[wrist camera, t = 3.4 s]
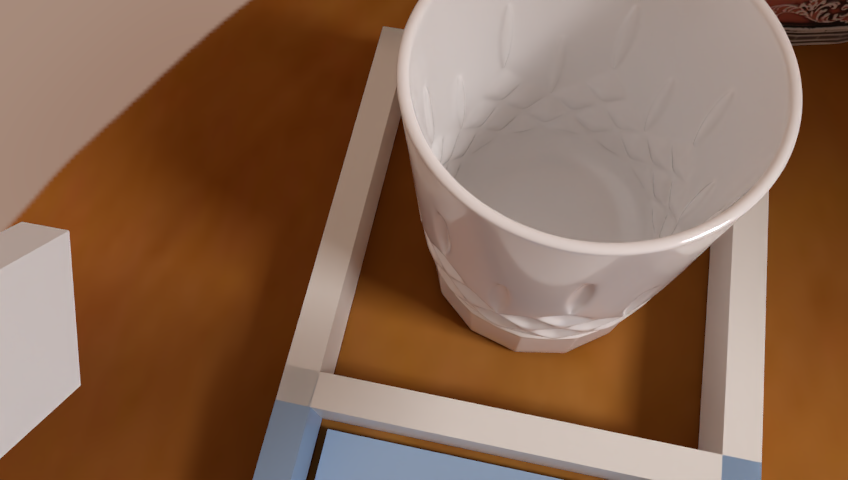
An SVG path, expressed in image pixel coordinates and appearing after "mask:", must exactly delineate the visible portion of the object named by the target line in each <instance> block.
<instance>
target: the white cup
mask: <svg viewBox="0 0 848 480" xmlns="http://www.w3.org/2000/svg"><path fill="white" fill-rule="evenodd" d="M396 84H397V95H398V101H399V106H400V111H401V116H402V121H403V126H404V132H405V137H406V142H407V147H408V153H409V158H410V164H411V169H412V175H413V180H414V184H415V190H416V195H417V201H418V206H419V211H420V217H421V222H422V225H423V229H424V232H425V236H426V241H427V245H428V248H429V251H430V253H431V255H432V257H433V259H434V261H435V265H436V270H437V274H438V279H439V284H440V288H441V292H442V294H443V295H444V297H445V298H446V299H447V300H448V302H449V303H450V304H451V305H452V307H453V308H454V309H455V310H456V312H457V313H458V314H459V315H460V317H461V318H462V319H463V320H464V322H465V323H466V324H467V325H468V327H469V328H470V329H471V330H472V331H474V332H476V333H478V334H480V335H482V336H484V337H486V338H488V339H490V340H493V341H495V342H497V343H499V344H501V345H503V346H505V347H507V348H509V349H511V350H513V351H515V352H546V353H566V352H568V351H570V350H572V349H575V348H577V347H579V346H581V345H583V344H586V343H588V342H590V341H592V340H594V339H597V338H599V337H601V336H603V335H605V334H608V333H609V332H610V331H611V330H612V329H613V328H614V327H615V326H616V325H617V324H618V323H619V322H620V321H622V320H624V319H625V318H627V317H628V316H630V315H631V314H632V313H634V312H635V311H637V310H638V309H639V308H641V307H642V306H643V305H644V304H645V303H647V302H648V301H649V300H650V299H651V298H652V297H653V296H655V295H656V294H657V293H658V292H660V291H661V290H662V289H663V288H665V287H666V286H667V285H668V284H669V283H671V282H672V281H673V280H674V279H675V278H676V277H677V276H678V275H679V274H681V273H682V272H683V271H684V270H685V269H686V268H687V267H688V266H689V265H690V264H691V263H692V262H693V261H694V260H696V259H697V258H698V257H699V256H700V255H701V254H702V253H703V252H704V251H705V250H706V249H707V248H708V247H710V246H711V245H712V244H713V243H714V242H715V241H716V240H717V239H718V238H719V237H720V236H721V235H722V234H724V233H725V232H726V231H727V230H728V229H729V228H730V227H731V226H732V225H733V224H734V223H736V222H737V221H738V220H739V219H740V218H741V217H742V216H743V215H744V214H745V213H747V212H748V211H749V210H750V209H751V208H752V207H753V206H754V205H755V204H756V203H758V202H759V201H760V200H761V198H762V197H763V196H764V195H765V194H766V193H767V192H768V191H769V189H770V188H771V187H772V186H773V184H774V183H775V182H776V180H777V179H778V177H779V176H780V174H781V173H782V171H783V170H784V168H785V166H786V164H787V162H788V160H789V158H790V156H791V154H792V151H793V149H794V146H795V143H796V140H797V137H798V133H799V129H800V124H801V117H802V104H803V96H802V83H801V76H800V71H799V66H798V62H797V59H796V56H795V53H794V50H793V47H792V45H791V42H790V40H789V38H788V36H787V34H786V32H785V30H784V28H783V26H782V24H781V23H780V21H779V19H778V18H777V16H776V15H775V13H774V12H773V10H772V9H771V8H770V6H769V5H768V4H767V2H766V1H765V0H418V2H417V4H416V5H415V7H414V9H413V11H412V13H411V15H410V17H409V19H408V21H407V24H406V26H405V29H404V32H403V35H402V38H401V42H400V46H399V51H398V57H397V66H396Z"/></svg>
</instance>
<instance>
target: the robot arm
mask: <svg viewBox="0 0 848 480" xmlns="http://www.w3.org/2000/svg"><path fill="white" fill-rule="evenodd" d="M80 386H81V382H80V369H79V355H78V342H77V328H76V315H75V302H74V288H73V275H72V262H71V248H70V235H69V230H64V229H58V228H53V227H47V226H42V225H36V224H31V223H26V222H20V223H18V224H16V225H14V226H12V227H10V228H8V229H6V230H4V231H2V232H0V458H1V457H3V456H4V455H5V454H6V453H7V452H8V451H9V450H10V449H11V448H12V447H14V446H15V445H16V444H17V443H18V442H19V441H20V440H21V439H22V438H23V437H25V436H26V435H27V434H28V433H29V432H30V431H31V430H32V429H33V428H34V427H36V426H37V425H38V424H39V423H40V422H41V421H42V420H43V419H44V418H45V417H47V416H48V415H49V414H50V413H51V412H52V411H53V410H54V409H55V408H56V407H58V406H59V405H60V404H61V403H62V402H63V401H64V400H65V399H66V398H67V397H69V396H70V395H71V394H72V393H73V392H74V391H75V390H76V389H77V388H78V387H80Z"/></svg>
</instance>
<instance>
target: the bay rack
mask: <svg viewBox="0 0 848 480" xmlns="http://www.w3.org/2000/svg"><path fill="white" fill-rule="evenodd" d="M403 32H404V29H398V28H391V27H385V26H383V28H382V31H381V35H380V38H379V42H378V45H377V49H376V52H375V56H374V59H373V63H372V66H371V70H370V73H369V77H368V80H367V84H366V87H365V91H364V94H363V97H362V101H361V104H360V108H359V111H358V115H357V118H356V122H355V125H354V129H353V132H352V136H351V139H350V143H349V146H348V150H347V153H346V157H345V160H344V163H343V167H342V170H341V174H340V177H339V181H338V184H337V188H336V191H335V195H334V198H333V202H332V205H331V209H330V212H329V216H328V219H327V223H326V226H325V229H324V233H323V236H322V240H321V243H320V247H319V250H318V254H317V257H316V261H315V264H314V268H313V271H312V275H311V278H310V282H309V285H308V289H307V292H306V296H305V299H304V302H303V306H302V309H301V313H300V316H299V320H298V323H297V327H296V330H295V334H294V337H293V341H292V344H291V348H290V351H289V355H288V358H287V362H286V365H285V368H284V372H283V375H282V379H281V382H280V386H279V389H278V393H277V396H276V400H275V403H274V407H273V410H272V414H271V417H270V421H269V424H268V428H267V431H266V434H265V438H264V441H263V445H262V448H261V452H260V455H259V459H258V462H257V466H256V469H255V473H254V476H253V480H306V478H307V475H308V471H309V467H310V463H311V459H312V455H313V451H314V448H315V444H316V440H317V436H318V432H319V428H320V425H321V421H322V418H323V419H328V420H333V421H337V422H342V423H347V424H351V425H356V426H361V427H365V428H370V429H375V430H380V431H384V432H389V433H394V434H398V435H403V436H408V437H412V438H417V439H422V440H426V441H431V442H436V443H440V444H445V445H450V446H454V447H459V448H464V449H468V450H473V451H478V452H482V453H487V454H492V455H496V456H501V457H506V458H510V459H515V460H520V461H524V462H529V463H534V464H538V465H543V466H548V467H552V468H557V469H562V470H566V471H571V472H576V473H580V474H585V475H590V476H594V477H599V478H604V479H608V480H761V467H762V430H763V392H764V355H765V317H766V280H767V242H768V205H769V191H768V192H767V193H766V194H765V195H764V196H763V197H762V198H761V200H760V201H759V202H758V203H756V204H755V205H754V206H753V207H752V208H751V209H750V210H749V211H748V212H747V213H745V214H744V215H743V216H742V217H741V218H740V219H739V220H738V221H737V222H736V223H734V224H733V225H732V226H731V227H730V228H729V229H728V230H727V231H726V232H725V233H724V234H722V235H721V236H720V237H719V238H718V239H717V240H716V241H715V242H714V243H713V244H712V245H711V246H710V261H709V278H708V294H707V311H706V328H705V344H704V361H703V378H702V394H701V411H700V428H699V444H698V450H697V449H692V448H688V447H683V446H678V445H673V444H668V443H663V442H658V441H654V440H649V439H644V438H639V437H634V436H629V435H625V434H620V433H615V432H610V431H605V430H600V429H596V428H591V427H586V426H581V425H576V424H571V423H567V422H562V421H557V420H552V419H547V418H542V417H538V416H533V415H528V414H523V413H518V412H513V411H509V410H504V409H499V408H494V407H489V406H484V405H480V404H475V403H470V402H465V401H460V400H455V399H451V398H446V397H441V396H436V395H431V394H426V393H422V392H417V391H412V390H407V389H402V388H397V387H393V386H388V385H383V384H378V383H373V382H368V381H364V380H359V379H354V378H349V377H344V376H339V375H335V374H334V371H335V367H336V363H337V359H338V355H339V352H340V348H341V344H342V340H343V336H344V332H345V329H346V325H347V321H348V317H349V313H350V309H351V305H352V302H353V298H354V294H355V290H356V286H357V282H358V279H359V275H360V271H361V267H362V263H363V259H364V256H365V252H366V248H367V244H368V240H369V236H370V232H371V229H372V225H373V221H374V217H375V213H376V209H377V206H378V202H379V198H380V194H381V190H382V186H383V183H384V179H385V175H386V171H387V167H388V163H389V159H390V156H391V152H392V148H393V144H394V140H395V136H396V133H397V129H398V125H399V121H400V117H401V111H400V106H399V101H398V95H397V84H396V66H397V57H398V51H399V46H400V42H401V38H402V35H403ZM315 480H562V479H558V478H553V477H548V476H544V475H539V474H534V473H530V472H525V471H521V470H516V469H511V468H507V467H502V466H497V465H493V464H488V463H483V462H479V461H474V460H470V459H465V458H460V457H456V456H451V455H446V454H442V453H437V452H432V451H428V450H423V449H418V448H414V447H409V446H405V445H400V444H395V443H391V442H386V441H381V440H377V439H372V438H367V437H363V436H358V435H353V434H349V433H344V432H340V431H335V430H330V429H328V430H327V434H326V437H325V441H324V445H323V449H322V453H321V457H320V461H319V465H318V469H317V473H316V477H315Z"/></svg>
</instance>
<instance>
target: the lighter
mask: <svg viewBox="0 0 848 480" xmlns="http://www.w3.org/2000/svg"><path fill="white" fill-rule="evenodd" d="M765 1H766V2H767V4H768V5H769V6H770V8H771V9H772V10H773V12H774V13H775V15H776V16H777V18H778V19H779V21H780V23H781V24H782V26H783V28H784V30H785V32H786V34H787V36H788V38H789V40H790V42H791V45H792V46H793V45H821V44H838V43H844V42H848V0H765Z"/></svg>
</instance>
